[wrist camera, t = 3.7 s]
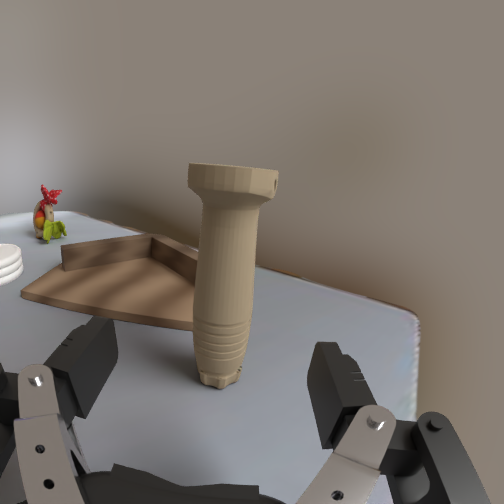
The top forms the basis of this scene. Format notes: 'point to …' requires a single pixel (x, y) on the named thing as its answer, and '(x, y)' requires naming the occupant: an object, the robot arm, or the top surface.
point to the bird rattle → (47, 217)
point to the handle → (226, 265)
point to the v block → (123, 280)
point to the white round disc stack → (10, 263)
